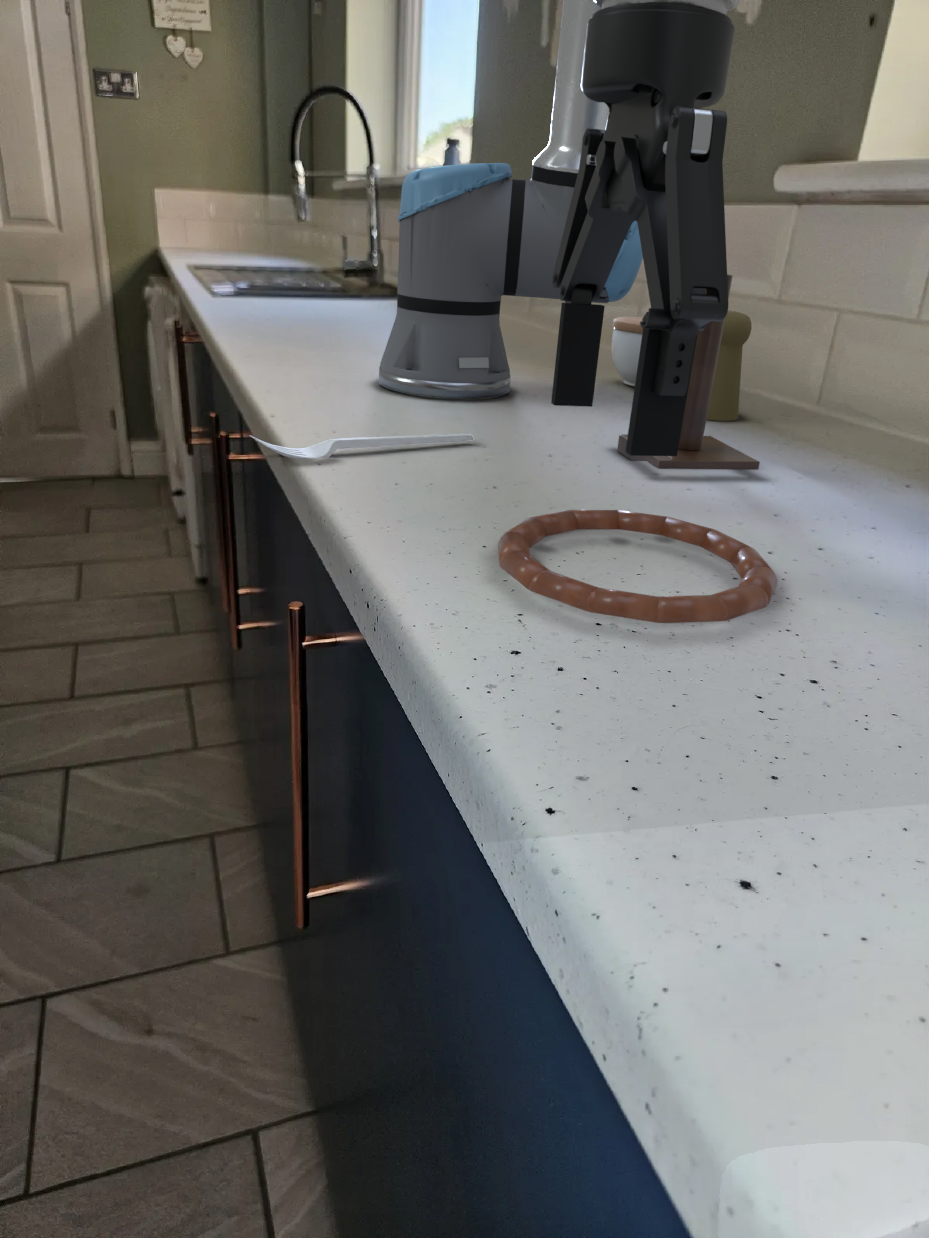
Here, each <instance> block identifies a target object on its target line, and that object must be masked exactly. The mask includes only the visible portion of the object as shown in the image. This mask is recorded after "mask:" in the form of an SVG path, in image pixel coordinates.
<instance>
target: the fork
mask: <svg viewBox="0 0 929 1238" xmlns="http://www.w3.org/2000/svg"><path fill="white" fill-rule="evenodd" d="M249 437H250V438H252V439H253V440H255V441H256V442H258V443H259V444H261V445H262V446H264V447H266V448H267V449H269V450H270V451H273V452H274V453H276V454H278V455H281V456H283V457H286V458H291V459H292V458H293V459H294V458H297V459H298V458H299V459H301V458H302V459H304V458H305V459H310V458H311V459H328V458H330V457H331V456H332V455H333V454H334V452H335V451H337V450H344V449H345V450H346V449H361V448H362V449H363V448H377V447H391V446H407V445H422V444H437V443H454V442H467V441H468V442H470V441H474V436H473V434H471V433H468V432H467V433H446V434H445V433H443V434H442V433H441V434H419V435H416V434H415V435H392V436H389V435H388V436H366V437H365V436H364V437H342V438H341V437H340V438H338V437H337V438H330V439H326V440H324V441H321V442H318V443H315V444H312V445H310V446H305V447H299V448H298V447H287V446H280V445H276V444H272V443H269V442H266V441H264V440H261V439H259V438H257V437H255V436H253V435H251V434H249Z"/></svg>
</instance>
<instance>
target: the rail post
mask: <svg viewBox="0 0 929 1238" xmlns="http://www.w3.org/2000/svg"><path fill="white" fill-rule="evenodd" d="M727 281H728V300H729V299H730V293H731V287H732V282H733V274H728V273H727ZM704 291H705V294H707V290H706V288H704ZM724 321H725V319H724V320H723V321H711V322H709V323H707V325H706V327H705V329H704V330H703V331H698V334H697V340H696V346H695V352H694V358H693V364H692V370H691V376H690V382H689V387H688V393H687V399H686V405H685V411H684V417H683V423H682V429H681V435H680V441H679V447H678V453H677V456H631V455H629V454H627V453H626V452H625V451H626V444H627V437H628V434H623V433H622V434H621V433H620V434H618V442H617V449H616V451H617V452H618V453H620V454H621V455H623V456H624V457H625V458H627V459H628V460H630V461H631V462H648V463H649V464H651V465H652V466H654V467H655V468H656V469H661V470H662V469H663V470H666V469H667V470H675V469H676V470H759V468H760V463H761V462H760V461H759V460H757V459H756V458H753V457H752V456H750V455H748V454H746V453H744V452H742V451H740V450H738V449H736V448H734V447H732V446H730V445H729V444H726V443H725V442H723V441H721V440H719V439H717V438H715V437H714V436H711V435H705V430H706V424H707V414H708V408H709V403H710V397H711V392H712V386H713V381H714V375H715V370H716V365H717V359H718V354H719V348H720V343H721V337H722V332H723V326H724Z"/></svg>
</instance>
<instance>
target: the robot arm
mask: <svg viewBox="0 0 929 1238" xmlns="http://www.w3.org/2000/svg"><path fill="white" fill-rule="evenodd" d="M740 3H741V0H562V8H561V9H562V10H561V18H560V29H559V38H558V39H559V40H558V50H557V60H556V72H555V79H554V80H555V81H554V91H553V102H552V112H551V122H550V130H549V131H550V133H549V141H548V143H547V146H546V147H545V148H544V149H543V150H542V151H540V153H539V154H537V156H536V157H534V159H533V160H532V166H531V177H530V179H515V178H513V171H512V168H511V165H510V164H509V163H506V162H490V163H489V162H479V163H463V164H451V165H450V164H449V165H439V166H431V167H424V168H419V169H415V170H413V171H411V172H409V173H408V174H407V175H406V176H405V178H404V180H403V182H402V184H401V194H400V207H399V214H398V216H397V222H398V223H399V231H398V232H399V235H398V270H397V293H396V294H397V297H396V298H397V299H396V315H395V319H394V322H393V325H392V328H391V331H390V334H389V336H388V339H387V343H386V346H385V348H384V351H383V354H382V357H381V360H380V363H379V366H378V367H379V369H378V383H379V385H380V386H381V387H383V388H385V389H388V390H389V391H393V392H396V393H397V392H398V393H402V394H405V395H411V396H417V397H424V398H425V397H426V398H435V399H447V400H449V399H450V400H478V399H480V400H481V399H490V398H499V397H501V396H504V395H507V394H508V393H510V389H511V376H512V375H511V370H510V365H509V361H508V357H507V352H506V347H505V342H504V338H503V333H502V329H501V323H500V317H501V316H500V315H501V304H502V303H501V302H502V297H503V296H509V297H521V298H522V297H524V298H538V299H539V298H540V299H549V300H550V299H551V300H560V301H561V305H560V307H561V309H560V315H559V323H558V324H559V325H558V333H557V334H558V335H557V343H556V344H557V345H556V354H555V361H554V363H555V364H554V373H553V383H552V391H551V401H550V404H551V405H552V406H558V407H559V406H562V407H593V402H594V397H595V396H594V394H595V387H596V386H595V385H596V379H597V378H596V377H597V371H598V362H599V355H600V348H601V347H600V346H601V340H602V339H601V338H602V330H603V323H604V315H605V309H606V308H605V307H606V306H605V305H604V304H608V303H616V302H618V301H621V300H622V299H623V298H624V297H626V296H627V295H628V293H629V292H630V291H631V289H632V288H633V285H634V283H635V282H636V279H637V276H638V273H639V271H640V268H641V266H642V262H643V266H644V272H645V279H646V285H647V291H648V298H649V303H650V307H649V308H648V311H646V312H645V314H644V316H642V317H643V318H642V321H641V322H640V325H641V327H642V328H643V333H642V340H641V347H640V354H639V361H638V367H637V374H636V381H635V386H634V387H633V388H634V390H633V396H632V403H631V410H630V417H629V422H628V423H629V424H628V432H627V435H628V437H627V444H626V451H625V452H626V453H627V454H629V455H631V456H677V453H678V447H679V441H680V435H681V429H682V423H683V417H684V411H685V405H686V399H687V393H688V387H689V382H690V376H691V370H692V364H693V358H694V352H695V346H696V340H697V334H698V331H703V330H704V329H705V327H706V325H707V323H709V322H711V321H723V320H724V319H725V317H726V315H727V312H728V310H729V299H728V281H727V274H728V262H727V261H728V260H727V240H726V237H727V236H726V235H727V234H726V218H725V217H726V213H725V197H724V196H725V193H724V192H725V190H724V169H723V168H724V167H723V166H724V165H723V162H724V161H723V159H724V151H725V142H726V135H727V127H728V114H727V112H726V111H725V110H719V109H718V110H717V109H710V108H708V107H711V106H714V105H716V104H717V103H719V102H720V101H721V100H722V98H723V97H724V95H725V91H726V85H727V79H728V73H729V68H730V61H731V55H732V48H733V43H734V38H735V37H734V36H735V30H736V27H735V25H734V24H733V20H732V19H731V17H730V16H728V15H727V13H729V12H731V11H733V10H734V9H735V8H737V7H738V5H739V4H740ZM704 288H706V290H707V294H705V291H704ZM594 303H595V304H594Z"/></svg>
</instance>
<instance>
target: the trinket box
mask: <svg viewBox="0 0 929 1238" xmlns="http://www.w3.org/2000/svg"><path fill="white" fill-rule="evenodd" d="M643 317H644V316H618V317H614V319H612V328H613V329H612V334H611V335H612V336H611V357H612V362H613V366H614V368H615V370H616V372H617V373H618V375H619V376H620V377H621V379H623V382H622V383H623V384H625V385H627V386H631V387H635V381H636V374H637V367H638V361H639V354H640V347H641V340H642V333H643V328H642V327H641V325H640V322H641V321H642V318H643Z"/></svg>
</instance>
